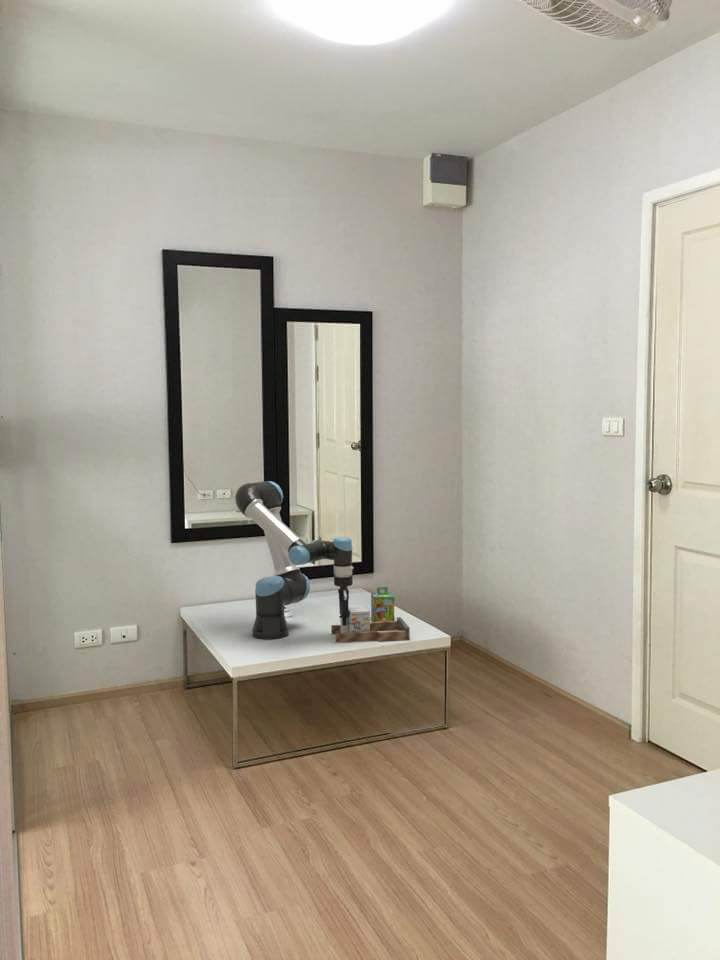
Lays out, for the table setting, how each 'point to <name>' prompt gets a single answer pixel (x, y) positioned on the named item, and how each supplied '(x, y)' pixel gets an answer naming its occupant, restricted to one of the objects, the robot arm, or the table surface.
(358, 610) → the ink box
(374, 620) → the chalk box
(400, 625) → the brown low open piece
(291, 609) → the table surface
